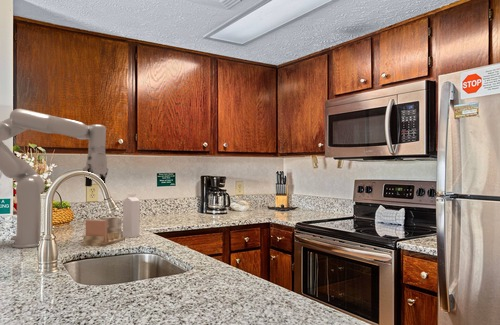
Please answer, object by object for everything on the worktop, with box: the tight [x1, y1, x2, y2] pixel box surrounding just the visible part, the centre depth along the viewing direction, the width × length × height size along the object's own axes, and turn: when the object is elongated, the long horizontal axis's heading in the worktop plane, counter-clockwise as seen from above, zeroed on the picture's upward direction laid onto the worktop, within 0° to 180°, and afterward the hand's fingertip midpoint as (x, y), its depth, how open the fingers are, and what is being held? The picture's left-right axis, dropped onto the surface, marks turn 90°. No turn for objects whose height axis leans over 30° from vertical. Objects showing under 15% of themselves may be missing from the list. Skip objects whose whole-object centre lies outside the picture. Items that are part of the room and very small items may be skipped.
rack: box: [80, 216, 126, 247], centre depth 186 cm, size 12×18×11 cm, turn 167°
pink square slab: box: [85, 219, 107, 243], centre depth 180 cm, size 10×2×10 cm, turn 77°
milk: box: [122, 193, 141, 239], centre depth 203 cm, size 6×6×22 cm
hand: (95, 186), depth 186 cm, fingers open, 9 cm apart
